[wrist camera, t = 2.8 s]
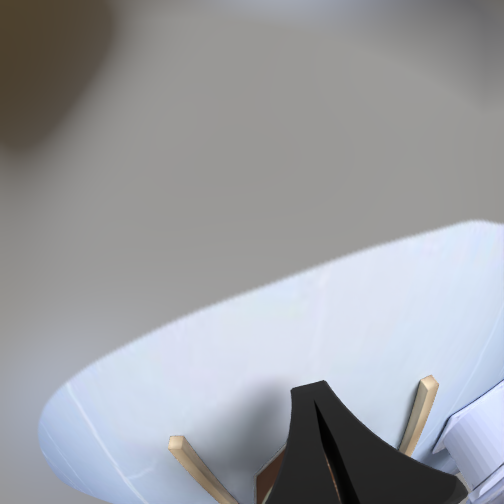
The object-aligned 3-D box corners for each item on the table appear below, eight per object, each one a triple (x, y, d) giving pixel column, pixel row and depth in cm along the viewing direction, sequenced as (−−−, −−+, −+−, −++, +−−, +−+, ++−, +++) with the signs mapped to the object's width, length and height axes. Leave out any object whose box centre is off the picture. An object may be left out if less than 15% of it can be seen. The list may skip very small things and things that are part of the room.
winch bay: (431, 374, 15) (468, 422, 10) (391, 480, 21) (403, 510, 16) (170, 436, 15) (158, 497, 10) (241, 514, 21) (242, 548, 16)
